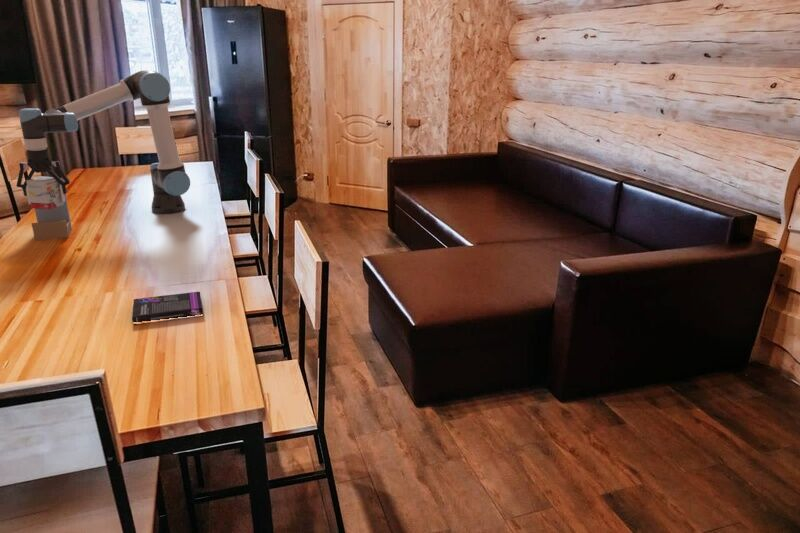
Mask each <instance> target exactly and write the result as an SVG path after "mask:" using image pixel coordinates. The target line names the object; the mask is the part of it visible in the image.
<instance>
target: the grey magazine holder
mask: <svg viewBox="0 0 800 533" xmlns="http://www.w3.org/2000/svg"><path fill="white" fill-rule="evenodd" d="M60 178H61V179H62V180H63V181H64V179H63V178H62V177H60ZM60 185H61V184H60ZM64 196H65V202H63V203H64V205H61V206H59V207H56V208H53V209H50V210H48V209H34V213H35V217H36V222H32V223H31V228H32V233H33V238H34V241H45V240H55V239H54V238H57V239H66V238H69V237H70V234H71V232H72V229H73V228H72V227H73V226H72V223H71V218H70V212H69V206H68V201H67V197H66V194H64Z"/></svg>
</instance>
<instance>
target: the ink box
mask: <svg viewBox="0 0 800 533" xmlns="http://www.w3.org/2000/svg"><path fill="white" fill-rule="evenodd" d="M25 180H26V179H25ZM26 182H27V186H26V187H28V192H29V197H30V202H31V204H30V207H31V209H34V210H35V209H48V210H50V209H53V208H56V207H59V206H61V205H64V203H63V202H62V197H61V191H60V183H59V182H58V181H56V180H55V179H54V178H53V177H52V176H46V175H45V176H43V175H42V176H41V175H40V176H38V177H37V176H36V177H32V178H31V179H30V180H26Z"/></svg>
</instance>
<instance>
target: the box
mask: <svg viewBox="0 0 800 533" xmlns="http://www.w3.org/2000/svg"><path fill="white" fill-rule="evenodd" d="M132 305H133V306H132V313H131V314H132V315H131V321H132V323H133V322H142V321H151V320H160V319H169V318H178V317H187V316H195V315H201V314H203V315H204V309H203V303H202V296H201V292H200V291H192V292H184V293H174V294H167V295H158V296H157V295H156V296H149V297H141V298H134V299H133V304H132Z"/></svg>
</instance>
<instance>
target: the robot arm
mask: <svg viewBox="0 0 800 533" xmlns="http://www.w3.org/2000/svg"><path fill="white" fill-rule="evenodd" d="M170 92H171V85H170V82H169V80H168V79H167V78H166V77H165V76H164V75H163V74H162V73H160V72H157V71H154V70H140V71H137V72H134V73H133V74H131V75H128V76H127V77H125V78H122V79H120V80H119V83H116V84H114V85H112V86H108V87H106V88H104V89H100V90H99V91H96V92H93V93H92V94H89V95H86V96H84V97H82V98H79V99H75V100H73V101H71V102H69V103H66V104H64V105H61V106H59V107H56V108H51V109H47V110H46V111H45V112H44V113H43V112H42V110H41V109H40V108H35V107H34V108H33V107H31V108H21V109H19V111H18V116H19V123H20V127H21V132H22V137H23V142H24V146H25V149H26V156H27V157H26V158H27V162H23V161H22V162H21V161H20V162H19V173H18V177H17V182H16V187H17V188H21V189H22V191H23V195H24V197H26V198H27V202H28V205H31V202H30V197H29V192H28V187H27V182H26V180H30V179H33V176H34V174H35V173H37V174H38V173H39V174H40V173H48V174H49V175H50V177H53V178H54V179H55V180H56V181H58V182H59V183H60V184H61V185H60V191H61V197H62V202H65V196H64V194H65V195H66V194H67V187H66V186H67V185H70V183H71V181H70V179H69V178H68V176H67V175H66V173H65V171H64V170H63V168H62V167H61V163H60V162H61V161H60V160H56V161H54V160H53V161H52V160H51V159H50V152H49V149H48V142H47V138H46V137H47V136H46V134H50V133H71V132H77V131H78V130H79V123H78V121H79V120H83V119H86V118H88V117H90V116H92V115H95V114H97V113H99V112H103V111H105V110H107V109H110V108H112V107H114V106H117V105H119V104H122V103H124V102H127V101H130V102H134V101H136V100H139V99H140V103H141V106H142V107H144V109H146V112H147V117H148V121H149V125H150V129H151V132H152V133H151V134H152V137H153V141H154V142H153V143H154V146H155V150H156V155H157V159H158V162H153V163H151V164H150V166H149V168H150V169H149V171H150V175H151V176H150V177H151V183H152V191H153V192H152V193H153V197H152V202H151V212H152V213H156V214H175V213H179V212H182V210H183V211H185V209H186V204H185V202H184V200H183V198H182V196H183V195H184V194H185V193H187V192H188V191H189V189H190V187H191V179H190V177H189V175H188V173H186V170H185V165H184V162H182V161H181V160H180V158H179V153H178V150H177V149H178V148H177V145H176V144H177V143H176V139H175V135H174V130H173V125H172V121H171V117H170V113H169V105H170V103H171V99H170V96H169V95H170ZM52 165H53V166H54V167H55V168H56V170H57V172H58V173H59V174H60V176H59V175H58V174H57V173H56V172H55V171H54V170H53V169H52V168H51V166H52ZM27 167H29V168H30V169H31V170H30V171H29V174H28V175H27V176H26V179H25V181H24V183H23V179H24V174H25V173H24V172H25V169H26V168H27ZM61 178H62V179H63V180H62V179H61Z"/></svg>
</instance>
